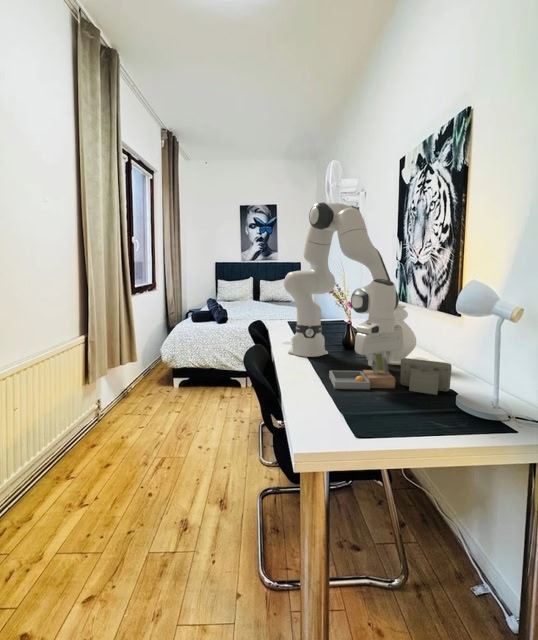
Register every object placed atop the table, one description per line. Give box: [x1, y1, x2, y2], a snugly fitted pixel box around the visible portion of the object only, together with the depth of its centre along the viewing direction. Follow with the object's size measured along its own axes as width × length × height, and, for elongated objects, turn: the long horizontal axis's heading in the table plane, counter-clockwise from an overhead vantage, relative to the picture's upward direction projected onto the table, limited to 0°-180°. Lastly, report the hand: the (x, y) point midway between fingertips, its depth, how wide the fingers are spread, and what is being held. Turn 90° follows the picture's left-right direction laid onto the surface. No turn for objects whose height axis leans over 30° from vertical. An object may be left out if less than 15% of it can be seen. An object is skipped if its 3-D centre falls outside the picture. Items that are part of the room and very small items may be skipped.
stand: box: [362, 369, 396, 389], centre depth 137 cm, size 10×9×4 cm
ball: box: [355, 376, 364, 382], centre depth 135 cm, size 3×3×3 cm
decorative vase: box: [388, 303, 417, 366], centre depth 167 cm, size 18×18×25 cm
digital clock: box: [399, 357, 452, 396], centre depth 130 cm, size 16×9×11 cm, turn 52°
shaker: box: [372, 351, 390, 374], centre depth 136 cm, size 6×6×8 cm
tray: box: [328, 370, 371, 391], centre depth 137 cm, size 14×12×2 cm
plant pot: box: [370, 353, 387, 370], centre depth 155 cm, size 9×9×9 cm
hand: (378, 364), depth 136 cm, fingers closed on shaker, 6 cm apart
